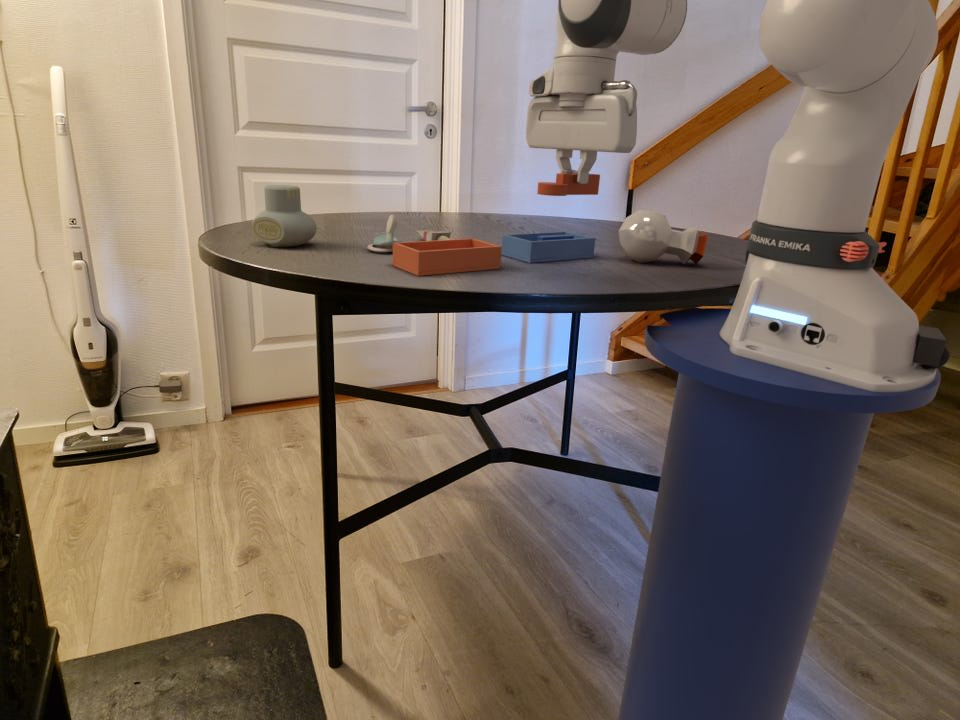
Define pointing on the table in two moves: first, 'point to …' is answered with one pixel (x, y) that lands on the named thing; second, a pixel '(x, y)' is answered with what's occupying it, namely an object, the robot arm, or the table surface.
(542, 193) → the orange stepped block
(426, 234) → the wrapped snack bar
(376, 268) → the table surface
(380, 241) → the pacifier
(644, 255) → the potion bottle
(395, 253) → the terracotta tray
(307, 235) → the air freshener
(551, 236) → the blue block with disc
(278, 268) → the table surface
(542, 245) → the blue tray
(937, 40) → the robot arm
